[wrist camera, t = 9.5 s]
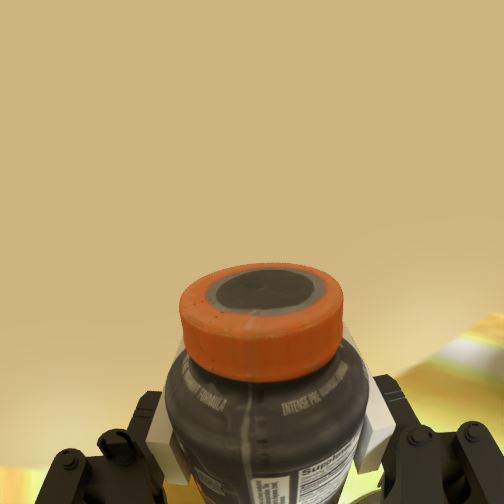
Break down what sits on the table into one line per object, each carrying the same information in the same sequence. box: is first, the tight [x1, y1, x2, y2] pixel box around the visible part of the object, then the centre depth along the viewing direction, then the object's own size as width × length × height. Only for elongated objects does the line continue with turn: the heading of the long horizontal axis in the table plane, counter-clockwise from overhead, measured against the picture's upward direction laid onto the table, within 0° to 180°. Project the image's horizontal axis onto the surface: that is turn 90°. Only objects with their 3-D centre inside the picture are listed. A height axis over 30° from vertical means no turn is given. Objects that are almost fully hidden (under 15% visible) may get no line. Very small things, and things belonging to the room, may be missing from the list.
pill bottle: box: [164, 263, 369, 504], centre depth 9 cm, size 6×6×11 cm
